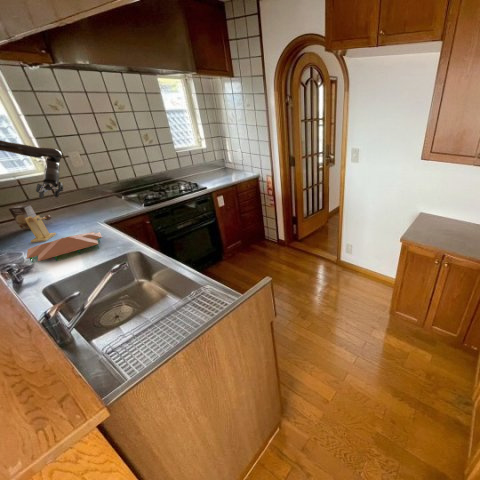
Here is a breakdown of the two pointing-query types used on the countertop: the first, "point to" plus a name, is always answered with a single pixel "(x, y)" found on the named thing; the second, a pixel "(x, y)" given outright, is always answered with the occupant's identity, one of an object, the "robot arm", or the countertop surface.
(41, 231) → the flush bracket
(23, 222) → the coffee box
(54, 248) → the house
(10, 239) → the countertop surface
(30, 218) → the flush lever
